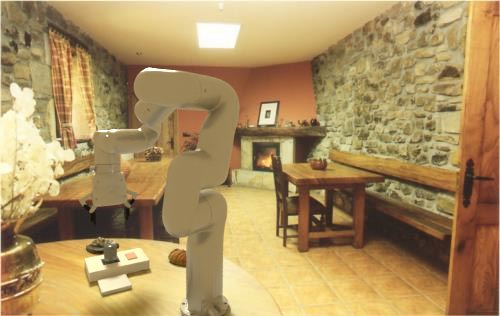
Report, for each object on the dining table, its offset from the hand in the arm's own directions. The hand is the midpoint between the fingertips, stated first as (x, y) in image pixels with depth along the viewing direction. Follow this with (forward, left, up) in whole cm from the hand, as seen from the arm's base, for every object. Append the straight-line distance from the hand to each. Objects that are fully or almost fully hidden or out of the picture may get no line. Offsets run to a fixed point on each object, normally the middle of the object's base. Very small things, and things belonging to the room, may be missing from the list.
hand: (110, 221), depth 103 cm
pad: (-11, +1, -16) cm, 20 cm away
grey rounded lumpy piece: (+21, 0, -17) cm, 27 cm away
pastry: (-5, -22, -17) cm, 28 cm away
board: (+1, -2, -16) cm, 16 cm away
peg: (+1, 0, -16) cm, 16 cm away
